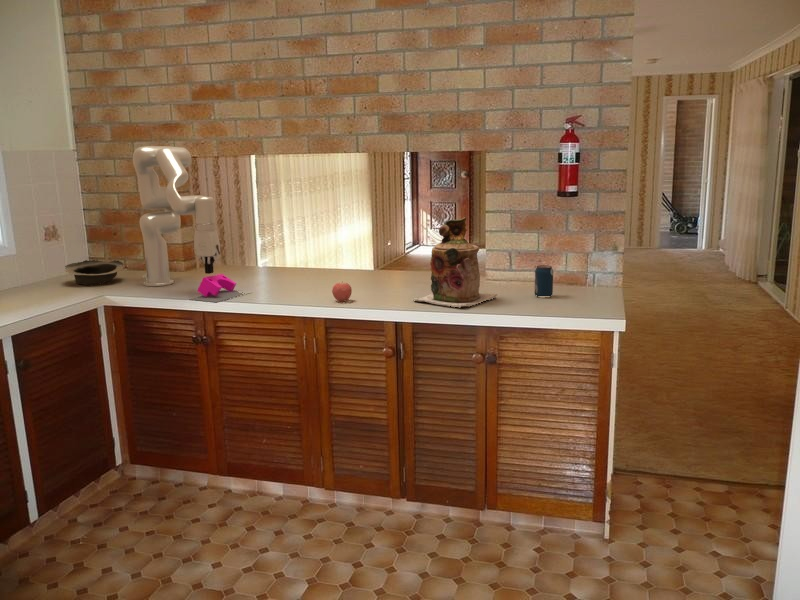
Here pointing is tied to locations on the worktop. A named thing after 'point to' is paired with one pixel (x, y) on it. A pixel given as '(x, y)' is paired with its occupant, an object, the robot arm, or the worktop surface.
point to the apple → (342, 291)
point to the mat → (218, 296)
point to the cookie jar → (455, 269)
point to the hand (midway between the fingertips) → (209, 273)
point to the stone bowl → (94, 271)
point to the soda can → (544, 280)
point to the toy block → (215, 285)
